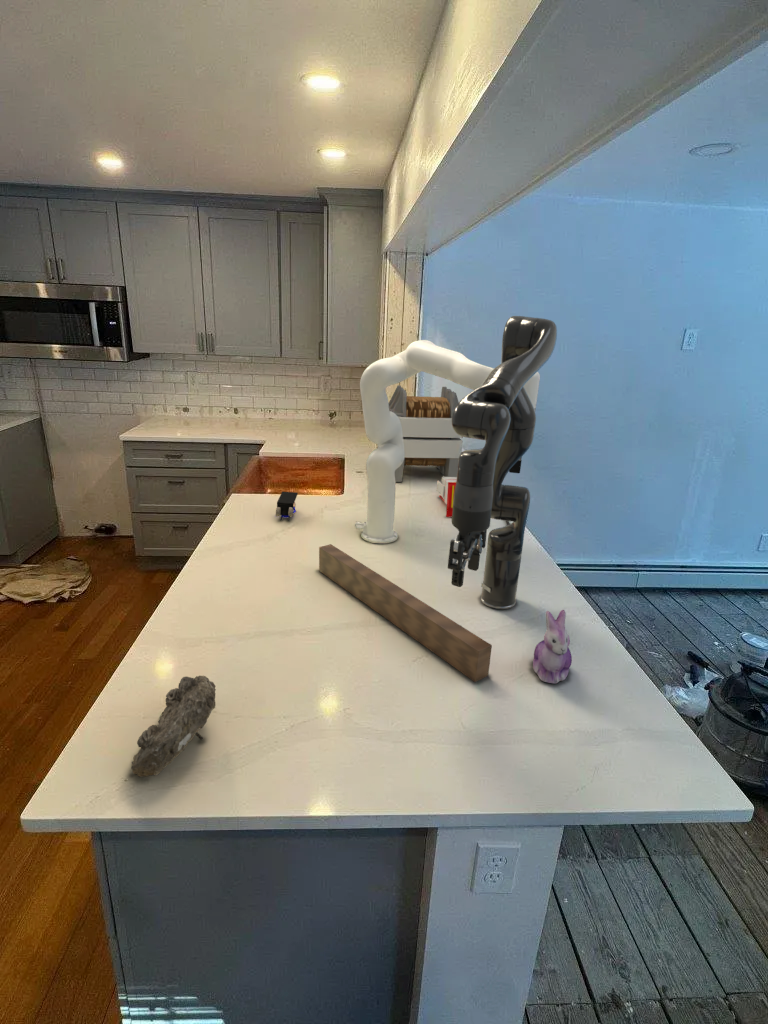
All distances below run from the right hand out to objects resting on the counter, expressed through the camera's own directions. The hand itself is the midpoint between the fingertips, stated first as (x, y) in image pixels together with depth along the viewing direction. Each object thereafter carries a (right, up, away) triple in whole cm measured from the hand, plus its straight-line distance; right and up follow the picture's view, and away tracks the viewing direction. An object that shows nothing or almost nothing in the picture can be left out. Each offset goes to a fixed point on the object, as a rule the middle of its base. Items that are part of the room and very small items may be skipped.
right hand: (465, 577), depth 117 cm
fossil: (-53, -27, -14) cm, 62 cm away
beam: (-15, -13, +30) cm, 36 cm away
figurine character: (-53, +12, +95) cm, 109 cm away
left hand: (+23, +27, +57) cm, 67 cm away
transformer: (+1, +32, +158) cm, 162 cm away
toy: (+11, +16, +114) cm, 116 cm away
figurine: (+21, -22, +10) cm, 32 cm away
